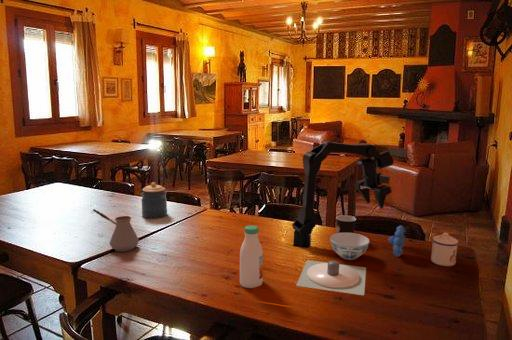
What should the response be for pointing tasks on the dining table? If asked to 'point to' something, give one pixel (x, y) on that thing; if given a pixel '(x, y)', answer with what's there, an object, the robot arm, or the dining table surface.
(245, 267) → the milk bottle
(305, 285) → the mat
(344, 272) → the lid
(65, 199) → the dining table surface
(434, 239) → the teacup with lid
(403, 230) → the blue lumpy piece
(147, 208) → the canister
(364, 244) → the chinaware
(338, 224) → the coffee mug
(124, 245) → the coffee pot
